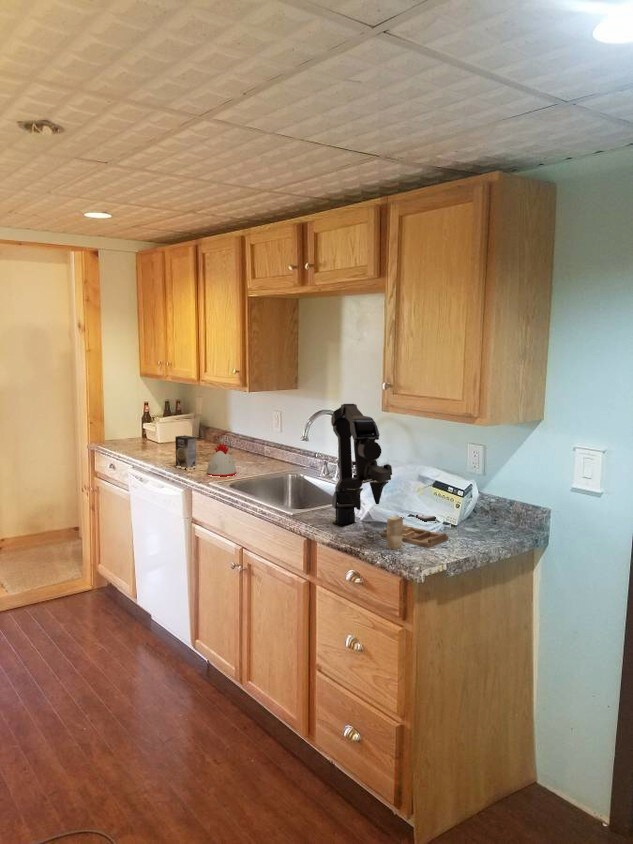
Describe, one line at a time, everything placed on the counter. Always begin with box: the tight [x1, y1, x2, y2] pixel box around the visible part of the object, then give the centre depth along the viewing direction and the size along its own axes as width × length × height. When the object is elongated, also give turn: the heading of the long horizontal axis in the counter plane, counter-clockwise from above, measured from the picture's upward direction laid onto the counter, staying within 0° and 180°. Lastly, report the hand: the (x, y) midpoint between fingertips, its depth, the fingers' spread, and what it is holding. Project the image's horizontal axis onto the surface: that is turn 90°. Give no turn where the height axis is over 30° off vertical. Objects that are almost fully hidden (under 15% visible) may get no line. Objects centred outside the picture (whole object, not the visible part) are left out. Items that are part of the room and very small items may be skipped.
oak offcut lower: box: [402, 531, 415, 538], centre depth 213 cm, size 6×6×1 cm
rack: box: [380, 525, 449, 549], centre depth 210 cm, size 18×12×3 cm, turn 48°
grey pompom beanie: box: [206, 443, 237, 477], centre depth 311 cm, size 14×14×15 cm
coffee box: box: [174, 434, 197, 468], centre depth 326 cm, size 9×6×16 cm
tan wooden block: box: [386, 515, 404, 551], centre depth 200 cm, size 3×4×10 cm
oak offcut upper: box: [402, 525, 412, 534], centre depth 213 cm, size 5×4×1 cm
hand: (368, 506), depth 205 cm, fingers open, 9 cm apart
